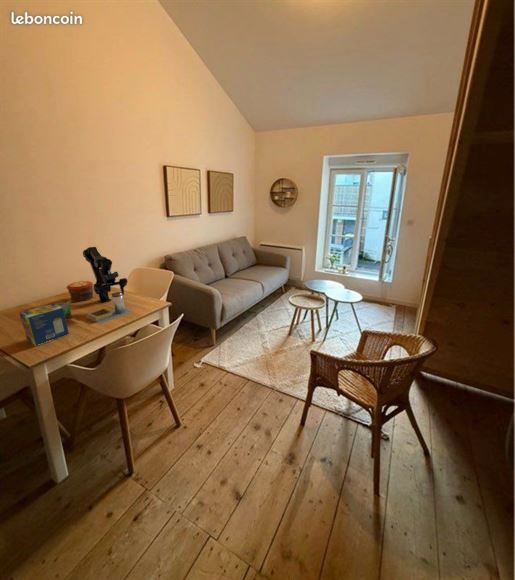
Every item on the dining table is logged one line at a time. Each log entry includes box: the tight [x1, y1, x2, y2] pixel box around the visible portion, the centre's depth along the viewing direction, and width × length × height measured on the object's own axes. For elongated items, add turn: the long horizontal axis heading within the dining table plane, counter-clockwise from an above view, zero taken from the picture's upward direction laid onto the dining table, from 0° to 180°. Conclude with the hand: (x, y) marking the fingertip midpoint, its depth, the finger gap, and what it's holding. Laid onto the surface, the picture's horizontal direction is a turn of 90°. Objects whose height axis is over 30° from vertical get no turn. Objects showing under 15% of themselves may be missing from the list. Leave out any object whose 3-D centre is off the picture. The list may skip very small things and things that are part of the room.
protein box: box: [18, 303, 70, 346], centre depth 144 cm, size 10×15×16 cm
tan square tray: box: [87, 308, 113, 323], centre depth 167 cm, size 10×10×3 cm
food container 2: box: [65, 280, 94, 302], centre depth 201 cm, size 16×16×11 cm
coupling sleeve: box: [111, 291, 126, 314], centre depth 173 cm, size 6×6×12 cm
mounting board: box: [86, 308, 134, 325], centre depth 171 cm, size 14×21×1 cm, turn 146°
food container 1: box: [54, 300, 72, 320], centre depth 167 cm, size 12×6×10 cm, turn 143°
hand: (115, 296), depth 174 cm, fingers open, 9 cm apart
